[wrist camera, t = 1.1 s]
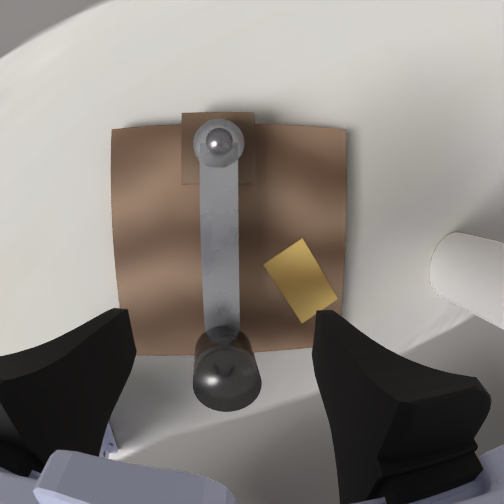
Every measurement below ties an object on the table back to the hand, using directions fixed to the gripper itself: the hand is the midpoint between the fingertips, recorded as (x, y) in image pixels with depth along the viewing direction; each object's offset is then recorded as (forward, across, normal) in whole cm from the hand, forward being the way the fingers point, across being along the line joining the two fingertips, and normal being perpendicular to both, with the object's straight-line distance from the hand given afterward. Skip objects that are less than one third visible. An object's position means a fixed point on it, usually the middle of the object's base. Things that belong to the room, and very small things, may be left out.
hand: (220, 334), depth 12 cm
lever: (+11, +1, 0) cm, 11 cm away
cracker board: (+14, 0, +1) cm, 14 cm away
